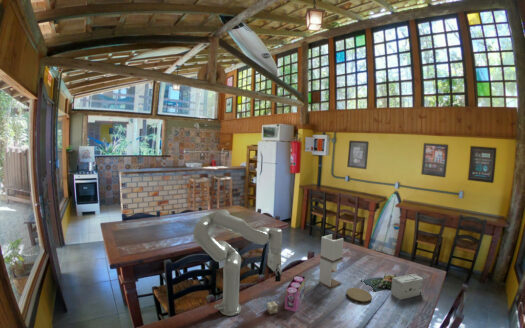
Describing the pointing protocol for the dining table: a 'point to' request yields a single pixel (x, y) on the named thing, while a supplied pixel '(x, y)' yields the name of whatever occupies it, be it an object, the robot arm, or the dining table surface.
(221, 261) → the robot arm
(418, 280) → the concrete block
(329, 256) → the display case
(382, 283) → the plated dish
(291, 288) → the gum box
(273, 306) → the ash cube
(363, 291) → the tan round disc
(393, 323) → the dining table surface
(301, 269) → the dining table surface
